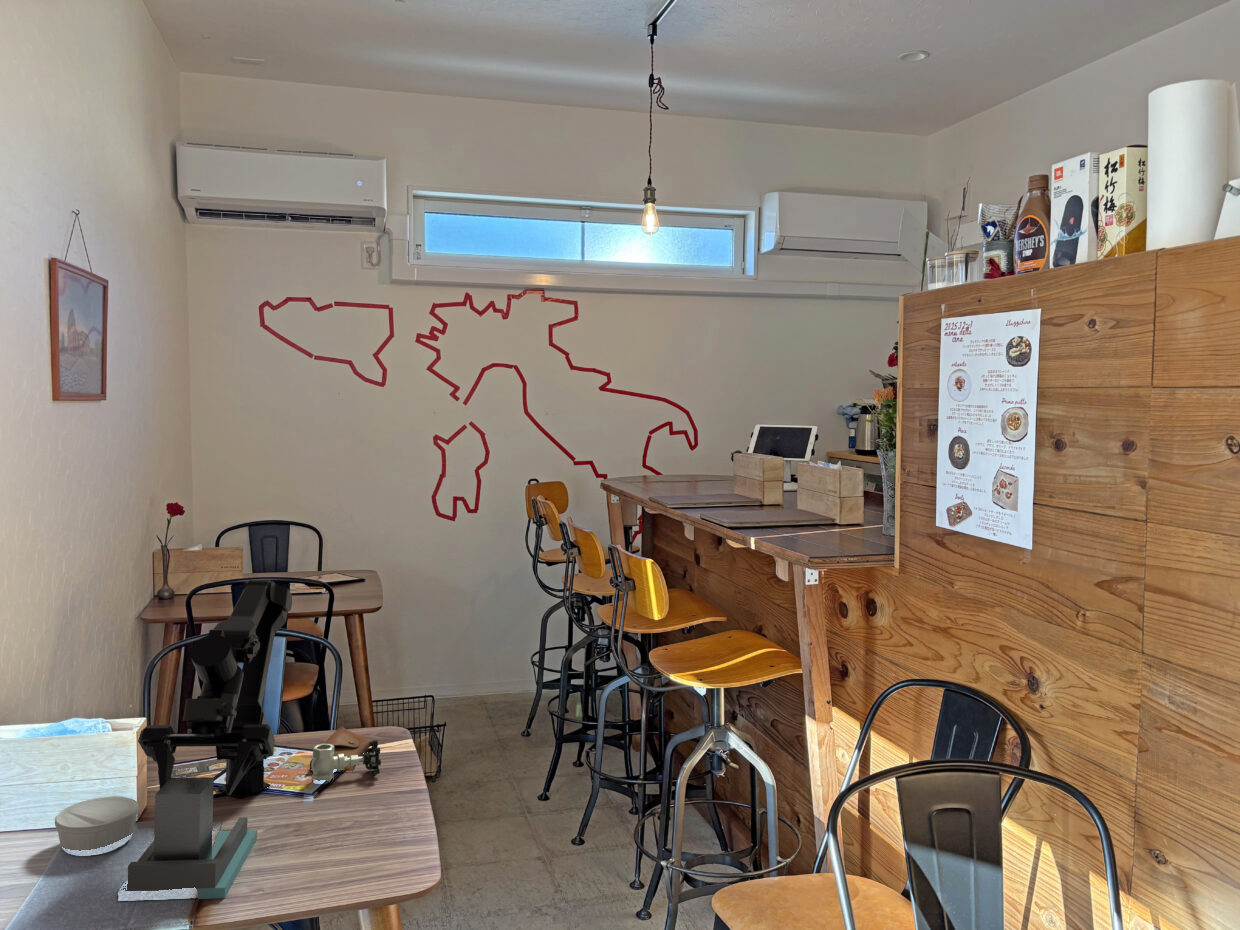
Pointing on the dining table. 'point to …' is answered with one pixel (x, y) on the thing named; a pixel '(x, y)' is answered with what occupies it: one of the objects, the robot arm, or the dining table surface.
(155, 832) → the lock block
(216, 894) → the dock plate
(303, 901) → the dining table surface
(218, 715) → the robot arm
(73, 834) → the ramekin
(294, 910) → the dining table surface
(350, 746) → the sunglasses case
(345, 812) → the dining table surface
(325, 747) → the valve
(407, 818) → the dining table surface
